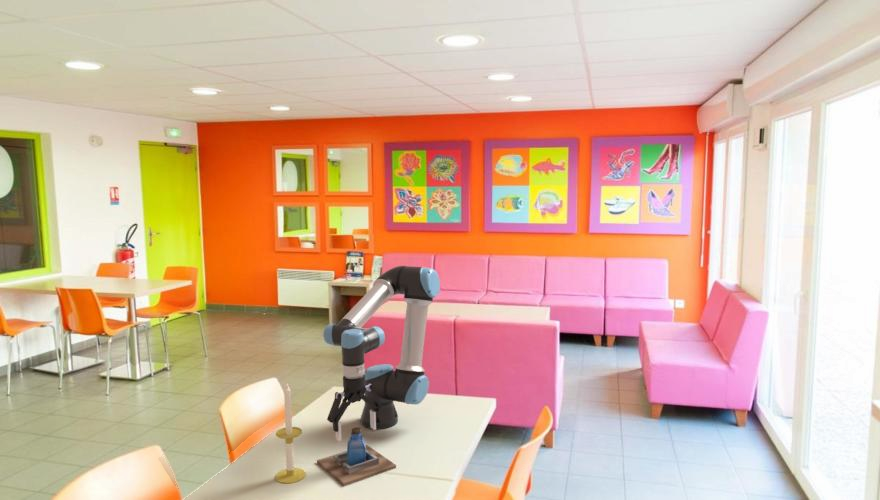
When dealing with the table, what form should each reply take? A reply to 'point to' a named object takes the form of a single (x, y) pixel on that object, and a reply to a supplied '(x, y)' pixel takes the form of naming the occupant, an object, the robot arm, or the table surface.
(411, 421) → the table surface
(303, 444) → the table surface
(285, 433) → the candle
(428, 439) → the table surface
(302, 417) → the table surface
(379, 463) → the pocket board
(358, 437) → the perfume bottle
